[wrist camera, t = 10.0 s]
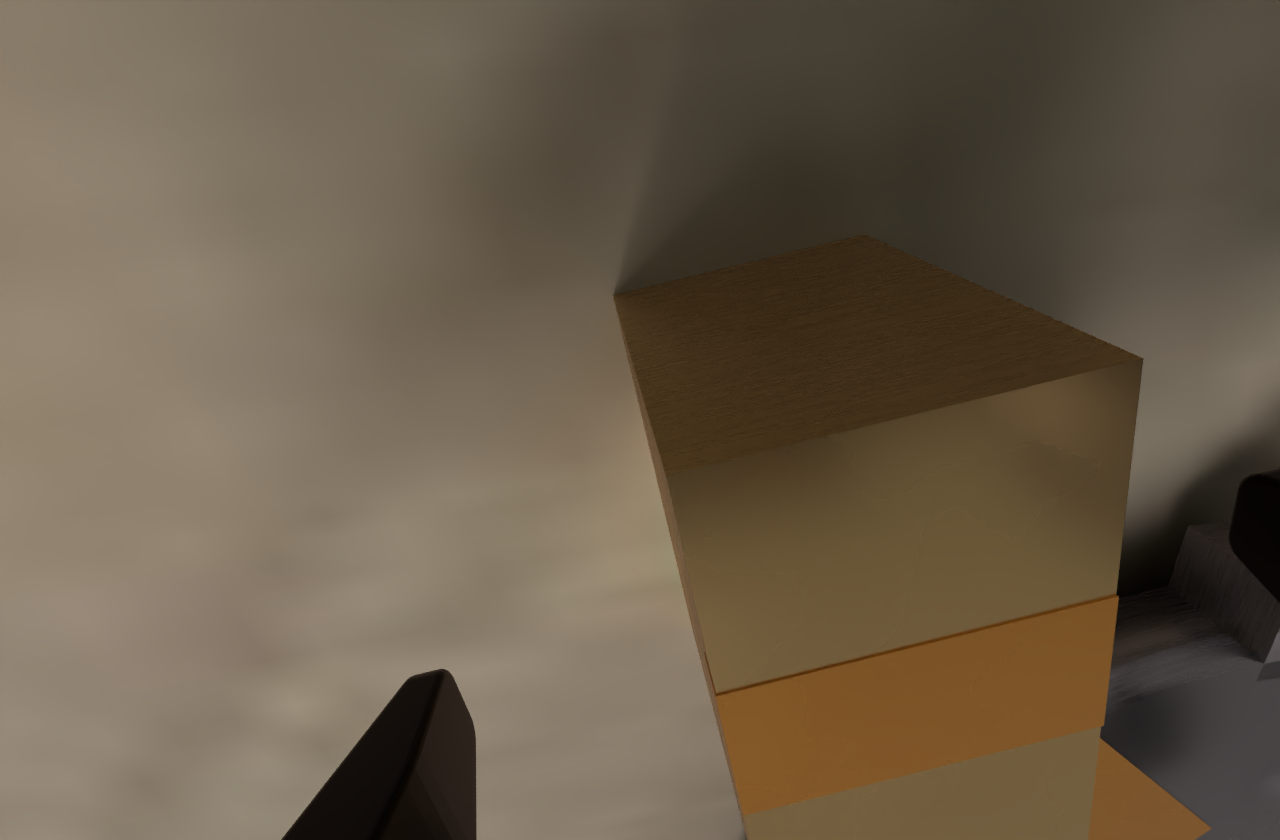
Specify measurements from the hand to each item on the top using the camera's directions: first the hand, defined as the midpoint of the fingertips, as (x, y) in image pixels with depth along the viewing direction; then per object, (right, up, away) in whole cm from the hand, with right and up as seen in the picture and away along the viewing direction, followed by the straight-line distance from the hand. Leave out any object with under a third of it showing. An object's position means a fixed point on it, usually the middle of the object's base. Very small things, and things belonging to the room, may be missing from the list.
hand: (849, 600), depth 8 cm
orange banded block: (0, +2, +3) cm, 3 cm away
